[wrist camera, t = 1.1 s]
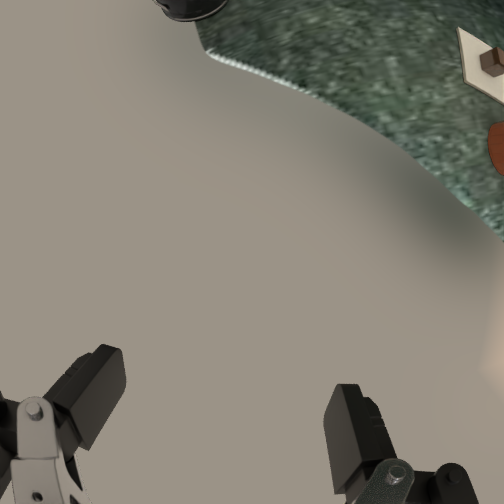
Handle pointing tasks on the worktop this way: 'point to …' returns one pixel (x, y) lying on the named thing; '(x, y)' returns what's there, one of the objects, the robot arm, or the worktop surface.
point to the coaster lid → (482, 65)
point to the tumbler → (497, 145)
